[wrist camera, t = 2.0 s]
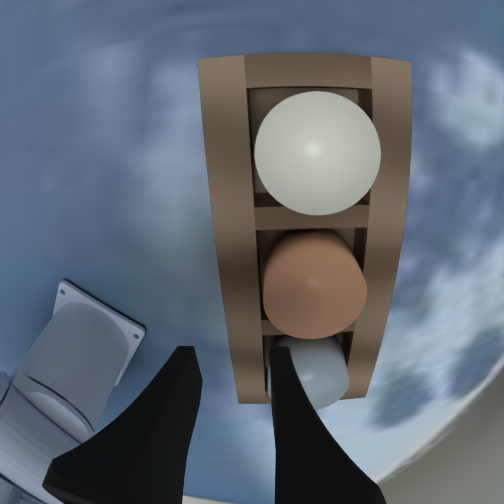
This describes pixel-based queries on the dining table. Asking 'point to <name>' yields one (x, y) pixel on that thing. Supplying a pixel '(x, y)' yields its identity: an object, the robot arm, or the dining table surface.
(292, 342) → the slate button
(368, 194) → the button board
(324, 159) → the cream button
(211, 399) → the dining table surface
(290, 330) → the terracotta button
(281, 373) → the robot arm
